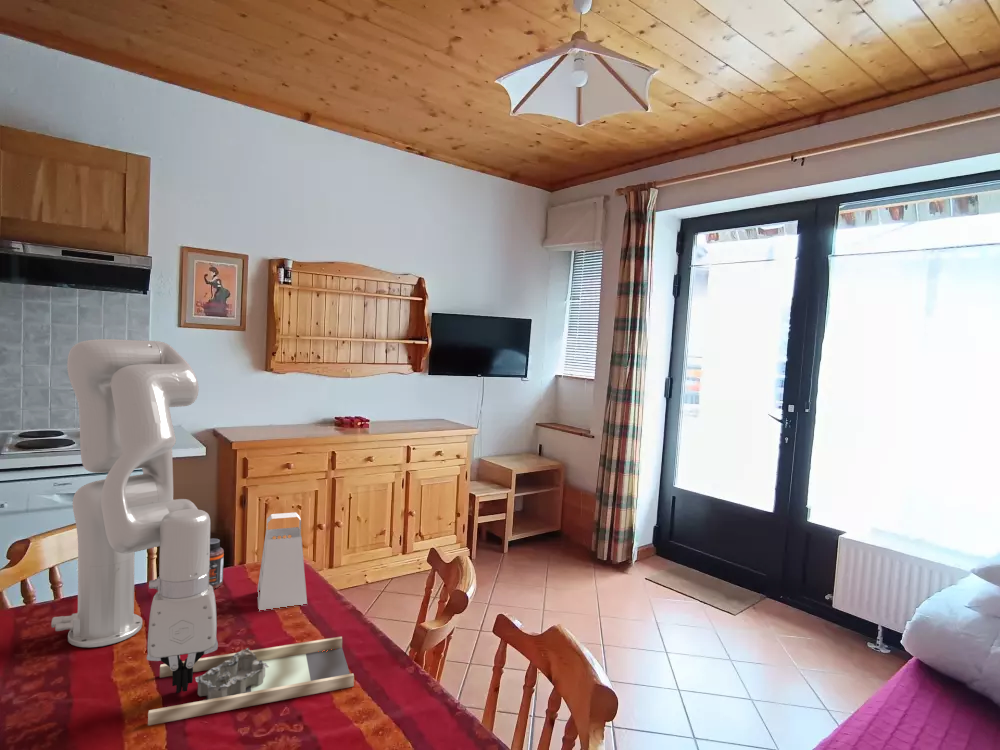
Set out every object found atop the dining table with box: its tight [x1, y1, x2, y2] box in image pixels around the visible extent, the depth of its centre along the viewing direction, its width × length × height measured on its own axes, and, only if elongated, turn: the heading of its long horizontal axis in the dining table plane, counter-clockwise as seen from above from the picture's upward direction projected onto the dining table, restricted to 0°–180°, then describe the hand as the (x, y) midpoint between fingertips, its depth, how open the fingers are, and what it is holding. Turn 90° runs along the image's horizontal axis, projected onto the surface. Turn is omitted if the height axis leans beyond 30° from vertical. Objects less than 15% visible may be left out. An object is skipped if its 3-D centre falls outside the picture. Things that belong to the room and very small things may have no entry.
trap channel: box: [147, 636, 355, 726], centre depth 105 cm, size 32×15×2 cm, turn 114°
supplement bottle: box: [209, 538, 225, 590], centre depth 142 cm, size 6×6×11 cm
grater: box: [256, 512, 308, 612], centre depth 137 cm, size 10×10×20 cm
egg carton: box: [193, 647, 269, 700], centre depth 102 cm, size 11×8×4 cm
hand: (182, 687), depth 100 cm, fingers closed
